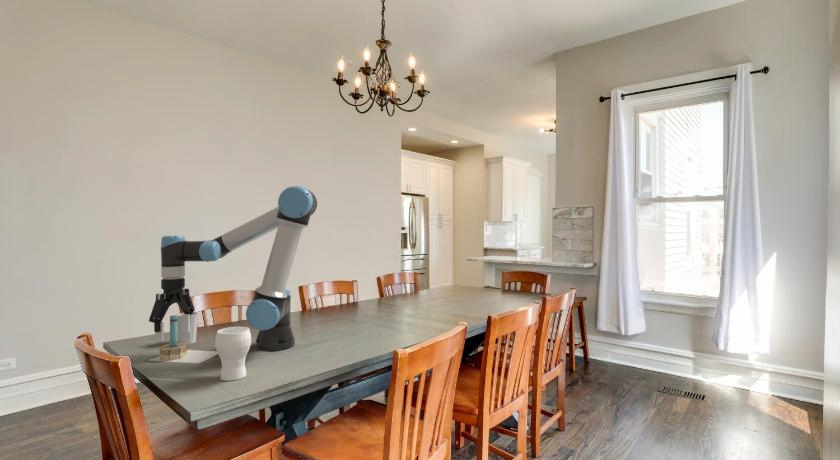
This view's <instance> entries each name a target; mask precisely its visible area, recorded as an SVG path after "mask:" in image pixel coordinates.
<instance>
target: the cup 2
mask: <svg viewBox="0 0 840 460" xmlns="http://www.w3.org/2000/svg"><path fill="white" fill-rule="evenodd" d="M251 334H252V333H251V330H250V328H249V327H248V326H230V327H225V328H220V329H218V330H217V331H216V335H215V339H214V340H215V341H214V342H215V343H214V347H215V350H216V351H217V353H218V355H217V356H218V357H219V358H220V362H221V371H220V378H219V379H220V380H222V381H225V382H227V381H230V382H231V381H237V380H240V379H243V378H245V377H247V368H246V358H247V355H248V352H249V350H250V348H251V346H252V335H251Z"/></svg>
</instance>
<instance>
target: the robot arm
mask: <svg viewBox="0 0 840 460" xmlns="http://www.w3.org/2000/svg"><path fill="white" fill-rule="evenodd" d="M317 207H318V200H317V197H316V195H315V194H314V193H313V192H312V191H310V190H309V189H307V188H305V187H303V186H298V185H294V186H293V185H291V186H288V187H286V188H285V189H283V191H281V193H280V194H279V196H278V199H277V206H276V207H275V208H273V209H271V210H269V211H266V212H265V213H263V214H260V215H259V216H257V217H255V218H253V219H251V220H248V221H247V222H245V223H243V224H241V225H239V226H237V227H234V228H233V229H231V230H229V231H228V232H226V233H223V234H222V235H220V236H217V237H215V238H213V239H211V240H191V241H188V240H186V238H185V236H184V235H164V236H162V237H161V241H160V244H161V245H160V255H161V257H160V259H161V261H160V264H161V265H160V266H161V269H160V270H161V273H160V274H161V276H160V277H161V278H162V279H161V280H160V287H161V289H162V290H163V293H156V294H155V301H154V304H153V307H152V310H151V313H150V316H149V319H148V322H149V323H153V325H154V326H153V328H154V329H153V331H154V341H155V342H164V340H165V339H164V336H165V334H164V333H165V332H164V330H165V329H164V325H165V323H164V322H163V320H164V318H165V316H166V314H167V311H168V310H169V308H170V307H171V306H172V305H174V304H177V305H178V307H179V309H180V310H181V311H182V313H184V314H182V332H190V314H193V312H195V310H196V309H195V307H194V306H195V305H194V303H193V301H192V298H191V296H190V289H189V288H185V287H186V279H185V276H186V265H185V263H186V262H210V263H211V262H216V261H218V260H219V259H222V258H224V257H227V255H228V254H230V253H232V252H233V251H235V250H238V249H239V248H242V247H243V246H245V245H247V244H250V243H251V242H253V241H255V240H258V239H259V238H261V237H264V236H265V235H267V234H269V233H271V232H273V231H275V230H276V229H277V230H276V233H275V236H274V240H273V244H272V248H271V249H270V253H269V257H268V261H267V264H266V268H265V272H264V275H263V278H262V280H261V285H260V286H258V287H256V288H255V291H254V294H253V297H252V300H251V302H250V303H249V305H248V306H247V308H246V310H245V318H246V319H245V320H246V321H247V322H248V325H250V327H252V328H253V329H254V330H255V329H256V330H257V331H258V333H257V336H256V339H255V347H254V348H255V349H256V350H260V351H268V352H269V351H272V352H274V351H282V350H287V349H290V348H293V347H294V346H296V338H295V335H294V333H293V329H292V326H291V299H292V296H291V295H292V294H291V291H290V290H289V289H288V288H286V287H287V284H288V280H289V276H290V275H291V270H292V266H293V264H294V259H295V256H296V252H297V249H298V246H299V243H300V239H301V235H302V231H303V230H304V229H306V228H307V227H308V225H309V222H310V218H311V216H313V215H314V213H315V212H316V210H317Z"/></svg>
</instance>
